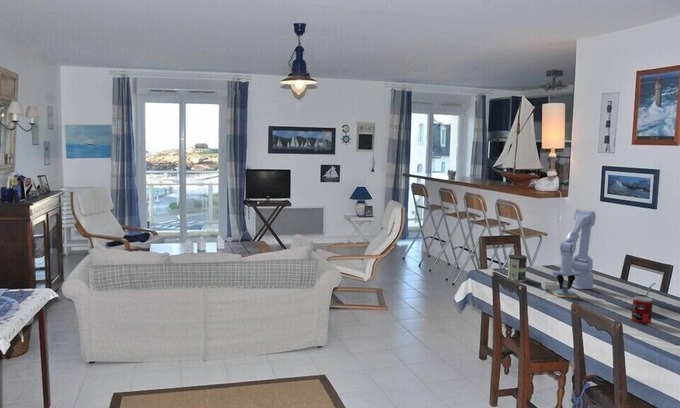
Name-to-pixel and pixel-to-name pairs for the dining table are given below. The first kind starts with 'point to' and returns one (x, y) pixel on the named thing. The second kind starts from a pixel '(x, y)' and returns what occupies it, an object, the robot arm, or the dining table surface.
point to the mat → (565, 295)
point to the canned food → (642, 309)
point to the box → (550, 285)
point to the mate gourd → (647, 292)
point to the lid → (564, 291)
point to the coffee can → (517, 267)
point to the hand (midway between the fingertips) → (564, 288)
